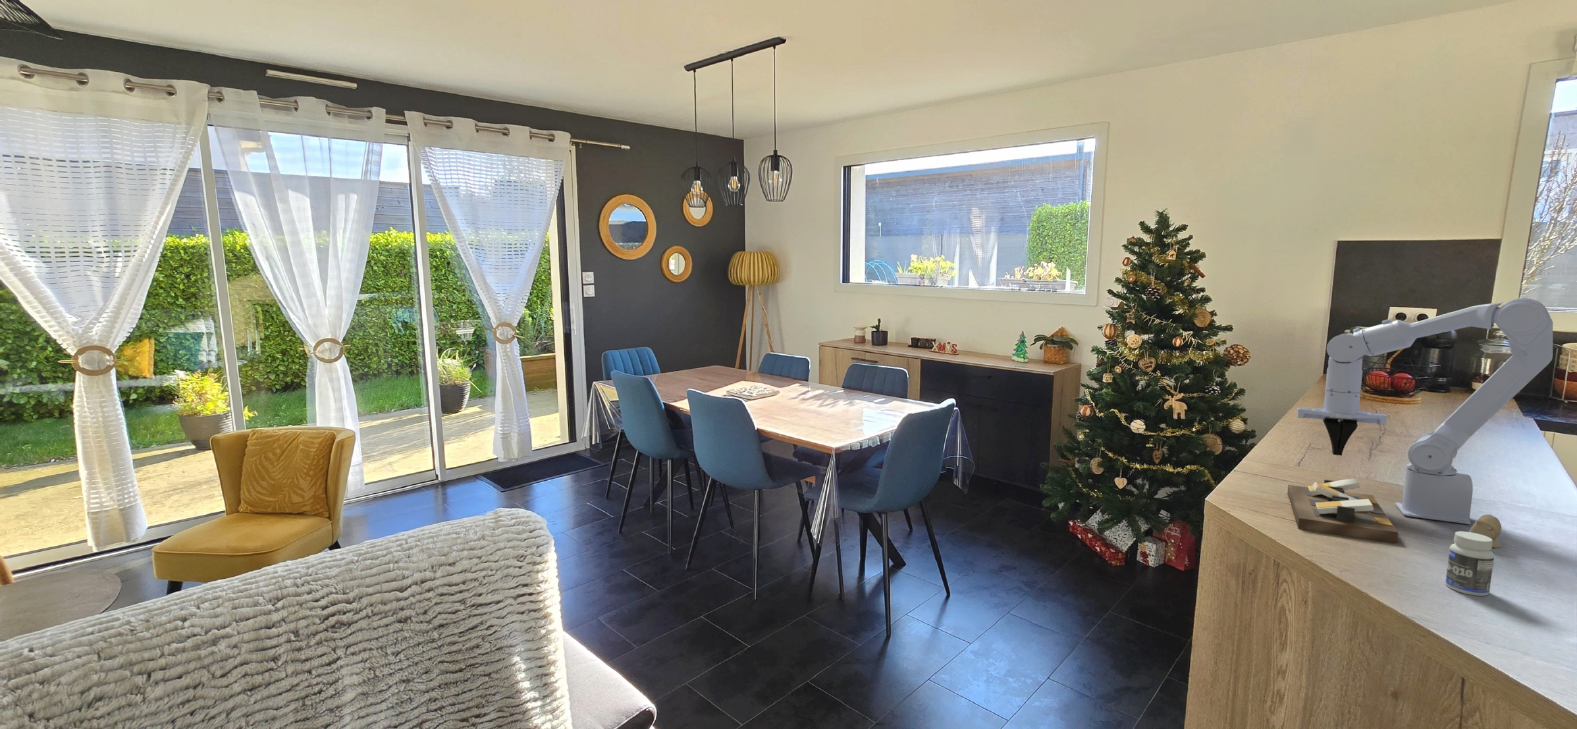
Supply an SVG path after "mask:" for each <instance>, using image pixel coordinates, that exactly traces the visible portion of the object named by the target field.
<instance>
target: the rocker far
mask: <svg viewBox="0 0 1577 729" xmlns="http://www.w3.org/2000/svg"><path fill="white" fill-rule="evenodd" d="M1333 481H1334V482H1328V483H1324V482H1322V483H1321V484H1322V485H1325V486H1327V487H1328V486H1331V487H1340V488H1343V490H1344V491H1348V490H1355V489H1360V487H1361V486H1360V485H1359V482H1358V480H1357V479H1356V478H1355V477H1352V478H1345V479H1340V480H1333ZM1307 487H1308V488H1309V490H1310V493H1311V495H1312V496H1314V495H1320V493H1318V492H1316V491H1314V488H1313V484H1311V485H1308V486H1307Z"/></svg>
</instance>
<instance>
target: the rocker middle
mask: <svg viewBox="0 0 1577 729" xmlns="http://www.w3.org/2000/svg"><path fill="white" fill-rule="evenodd" d="M1322 484H1323V483H1319V482H1317V481H1314V483H1313V484H1312V485H1313V488H1314V491H1316V492H1318V493H1320V494H1323V495H1325V496H1327V497H1330V498H1332V495H1333V496H1341V497H1348V498H1349V500H1358V499H1355V498H1353V497H1350V496H1348V495H1346V494H1343V493H1341V492H1339V491H1337V490H1334V489H1332V488H1329V487H1327V486H1325V485H1322ZM1362 512H1363V511H1362Z"/></svg>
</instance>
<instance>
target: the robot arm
mask: <svg viewBox="0 0 1577 729" xmlns="http://www.w3.org/2000/svg"><path fill="white" fill-rule="evenodd" d="M1503 303H1504V301H1500V302H1498V301H1497V302H1491V303H1486V304H1478V305H1473V306H1469V307H1466V308H1462V309H1459V310H1455V311H1452V312H1447V313H1444V314H1440V315H1437V316H1433V317H1430V318H1425V319H1423V320H1419V321H1416V322H1411V323H1409V322H1407V321H1403V320H1402V319H1401V320H1400V319H1396V320H1393V321H1392V319H1391V318H1389V319H1384V320H1382V321H1381V323H1380V324H1377V325H1373V326H1370V327H1369V326H1368V327H1365V328H1363V329H1362V328H1361V329H1360V327H1358V328H1354V329H1352V332H1353V333H1351V332H1350V333H1348V332H1347V333H1342V334H1338V335H1336V336H1334V337H1332V338H1331V339H1330V340H1329V341H1328V343H1327V345H1326V353H1327V354H1328V356H1329V357H1328V361H1327V362H1328V367H1327V369H1326V377H1325V379H1326V380H1325V390H1324V391H1325V392H1324V401H1323V402H1324V403H1323V408H1318V407H1317V408H1315V407H1313V408H1310V407H1308V408H1307V407H1297V409H1296V417H1297V419H1315V420H1316V419H1317V420H1322V422H1323V424H1324V426H1325V428H1326V431H1327V433H1328V436H1329V440H1330V444H1331V454H1333V456H1340V457H1341V456H1342V455H1343V451H1344V449H1345V448H1346V444H1347V443H1348V441H1349V440H1350V437H1351V436H1352V435H1353V433H1354V432H1356V430H1357V428H1358V423H1365V424H1379V425H1382V426H1383V425H1384V426H1385V425H1387V422H1388V415H1387V414H1385V413H1377V412H1368V411H1360V402H1361V400H1360V399H1361V390H1362V379H1363V369H1362V368H1363V357H1364V356H1368V357H1373V356H1374V357H1375V356H1378V355H1382V354H1386V353H1390V352H1394V351H1399V350H1404V349H1407V348H1411V346H1412V345H1413V344H1414V343H1415V341H1416V340H1417V339H1418V338H1424V337H1428V336H1433V335H1436V334H1441V333H1446V332H1450V331H1454V330H1455V331H1456V330H1459V329H1464V328H1468V327H1469V328H1470V327H1473V328H1479V329H1488V330H1492V329H1493V328H1494V327H1495V324H1496V326H1497V328H1498V329H1499V330H1500V331H1501V332H1502V333H1503V335H1504V336H1505V337H1506V338H1507V341H1508V345H1509V349H1510V351H1511V354H1512V355H1511V356H1510V357H1509V358H1508V359H1507V360H1506V361H1505V362H1504V363H1503V364H1502V365H1501V366H1500V367H1498V369H1496V371H1494V372H1493V373H1492V374H1491V375H1490V377H1488V379H1486V380H1485V381H1484V382H1483V383H1482V384H1481V385H1480V386H1479V387H1478V388H1477V389H1475V391H1474V392H1473V393H1472V394H1471V395H1470V396H1469V397H1468V398H1467V399H1465V401H1463V402H1462V404H1461V405H1459V407H1458V408H1457V409H1456V410H1454V412H1452V413H1451V415H1449V417H1447V418H1446V419H1445V420H1444V421H1443V422H1442V423H1441V424H1439V425H1438V427H1436V429H1434V430H1433V431H1431V432H1428V433H1424V434H1423V435H1420V436H1419V437H1418V438H1417V439H1416V440H1415V441H1414V443H1413V444H1412V445H1411V446H1410V448H1409V449H1408V452H1407V458H1408V460H1409V463H1406V464H1405V473H1404V482H1403V493H1402V502H1395V506H1396V507H1397V508H1398V509H1399V511H1400V513H1401V514H1402V515H1403V516H1406V517H1413V518H1418V519H1420V518H1421V519H1426V520H1427V519H1428V520H1434V521H1441V522H1442V521H1443V522H1450V523H1458V524H1466V525H1471V521H1470V517H1471V509H1472V508H1471V507H1472V500H1473V492H1474V488H1473V487H1474V486H1473V485H1474V484H1473V480H1472V478H1471V477H1472V476H1470V475H1469V474H1467V473H1458V470H1457V469H1456V468H1455V467H1454V466H1453V461H1454V459H1455V458H1456V456H1457V454H1458V451H1459V449H1461V447H1463V446H1464V445H1465V444H1466V442H1467V441H1468V440H1469V439H1470V438H1471V437H1472V436H1473V435H1475V433H1476V432H1477V431H1479V430H1480V428H1482V427H1483V426H1484V425H1485V424H1486V423H1487V422H1488V421H1490V419H1491V418H1493V416H1495V415H1496V414H1497V413H1498V412H1499V411H1500V410H1501V409H1502V408H1503V407H1505V405H1506V404H1508V402H1510V400H1512V399H1513V398H1514V397H1515V396H1516V395H1517V394H1518V393H1519V392H1520V391H1521V390H1523V388H1525V386H1527V384H1529V383H1530V382H1531V381H1532V380H1533V379H1534V378H1535V377H1536V376H1537V375H1538V374H1540V372H1542V371H1543V370H1544V369H1545V368H1546V367H1547V366H1548V365H1549V364H1550V363H1551V362H1552V360H1553V355H1554V353H1553V351H1554V350H1553V349H1554V348H1553V347H1554V343H1553V342H1554V340H1553V339H1554V330H1553V329H1554V323H1553V322H1554V321H1553V319H1552V318H1551V315H1550V313H1549V310H1548V309H1547V307H1546V306H1545V305H1544V304H1543V303H1541V302H1540V301H1538V300H1535V299H1534V298H1533V299H1532V298H1527V297H1526V298H1525V297H1524V298H1523V297H1521V298H1520V297H1519V298H1515V299H1512V300H1509V301H1507V302H1505V303H1504V304H1503ZM1499 306H1500V307H1499Z"/></svg>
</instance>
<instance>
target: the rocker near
mask: <svg viewBox="0 0 1577 729" xmlns="http://www.w3.org/2000/svg"><path fill="white" fill-rule="evenodd" d="M1338 506H1343V507H1351V508H1355V512H1356V511H1371V510H1374V509H1373V505H1372V504H1371V502H1370V500H1369V499H1360V500H1346V501H1332V502H1318V503H1316V507H1317V510H1318V512H1319V514H1325V513H1337V507H1338Z"/></svg>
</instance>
